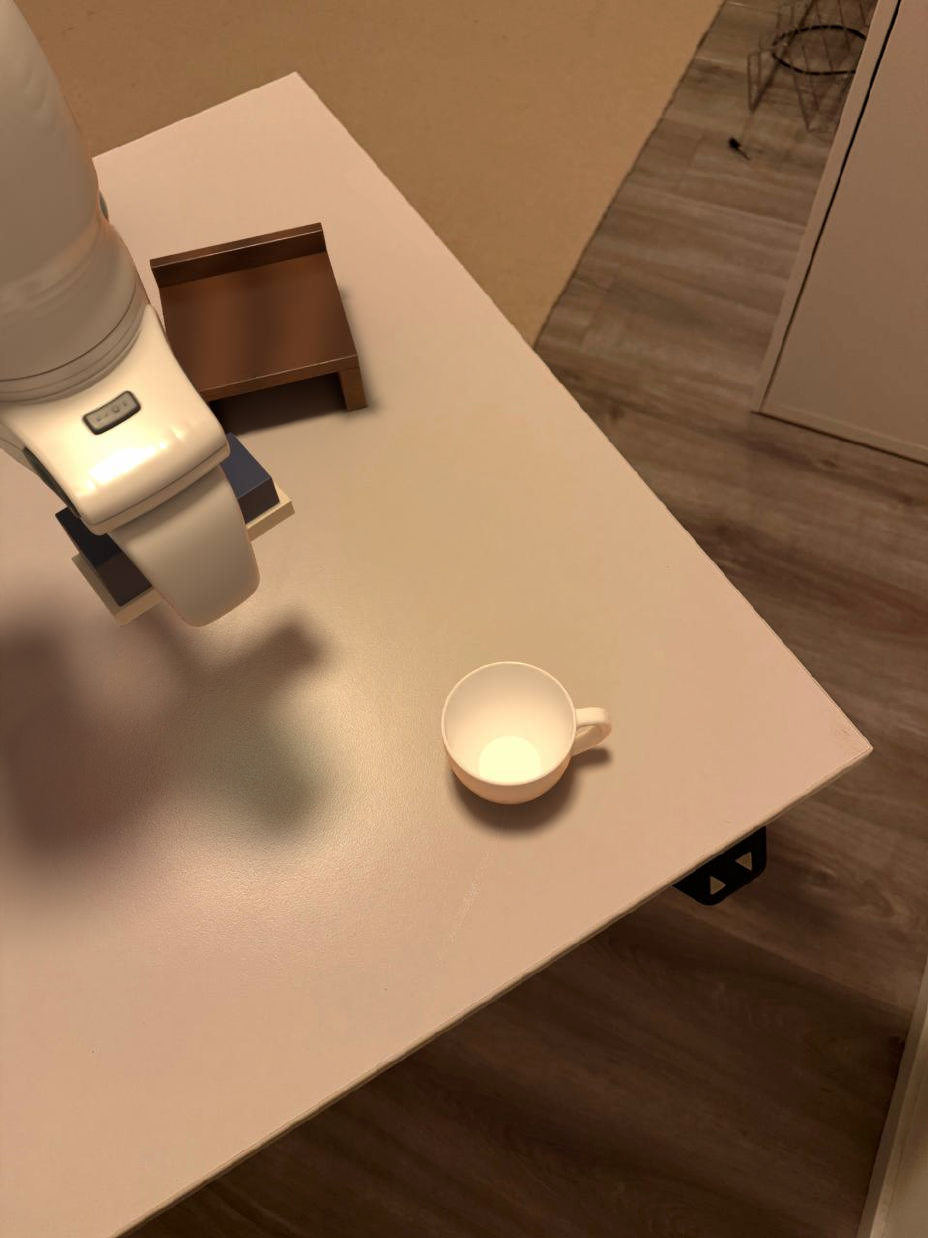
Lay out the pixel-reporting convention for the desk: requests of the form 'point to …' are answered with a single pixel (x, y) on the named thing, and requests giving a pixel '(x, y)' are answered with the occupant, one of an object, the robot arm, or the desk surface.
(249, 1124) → the desk surface
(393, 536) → the desk surface
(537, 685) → the cup
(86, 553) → the navy stepped block
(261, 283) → the shelf
